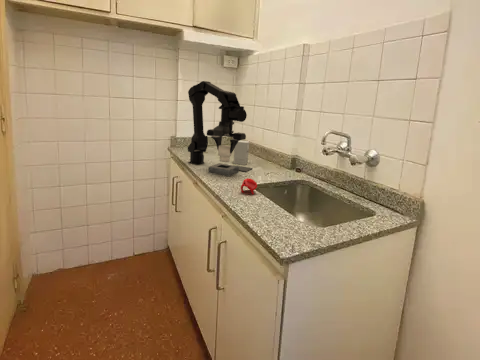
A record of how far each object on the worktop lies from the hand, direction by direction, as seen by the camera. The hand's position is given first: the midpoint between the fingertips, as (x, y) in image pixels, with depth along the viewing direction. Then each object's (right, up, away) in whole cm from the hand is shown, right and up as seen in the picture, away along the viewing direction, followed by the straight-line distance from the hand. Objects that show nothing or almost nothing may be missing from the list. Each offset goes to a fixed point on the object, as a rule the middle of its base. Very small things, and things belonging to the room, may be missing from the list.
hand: (224, 152), depth 151 cm
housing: (-1, -10, +3) cm, 10 cm away
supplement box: (+8, -4, +27) cm, 29 cm away
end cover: (0, -4, +1) cm, 4 cm away
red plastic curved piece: (+11, -19, -27) cm, 34 cm away
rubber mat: (+8, -8, +12) cm, 16 cm away
